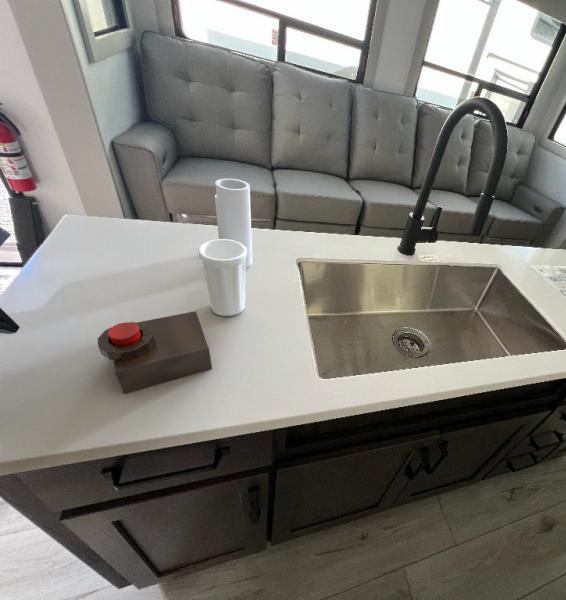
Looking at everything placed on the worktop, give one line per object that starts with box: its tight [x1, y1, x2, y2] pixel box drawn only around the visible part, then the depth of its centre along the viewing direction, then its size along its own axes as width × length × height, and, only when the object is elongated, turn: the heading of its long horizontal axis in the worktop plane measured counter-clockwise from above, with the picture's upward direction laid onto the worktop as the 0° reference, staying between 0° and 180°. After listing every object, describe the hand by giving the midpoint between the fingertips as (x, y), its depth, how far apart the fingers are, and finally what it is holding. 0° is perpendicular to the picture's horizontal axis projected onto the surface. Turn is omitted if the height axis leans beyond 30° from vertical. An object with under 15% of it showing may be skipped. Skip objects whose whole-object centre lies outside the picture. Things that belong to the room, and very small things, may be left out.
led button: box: [108, 321, 141, 347], centre depth 50 cm, size 4×4×2 cm
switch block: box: [97, 311, 213, 395], centre depth 54 cm, size 13×10×7 cm
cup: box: [198, 238, 247, 317], centre depth 65 cm, size 8×8×14 cm
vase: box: [214, 177, 253, 269], centre depth 78 cm, size 11×7×20 cm, turn 24°
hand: (15, 330), depth 41 cm, fingers closed
